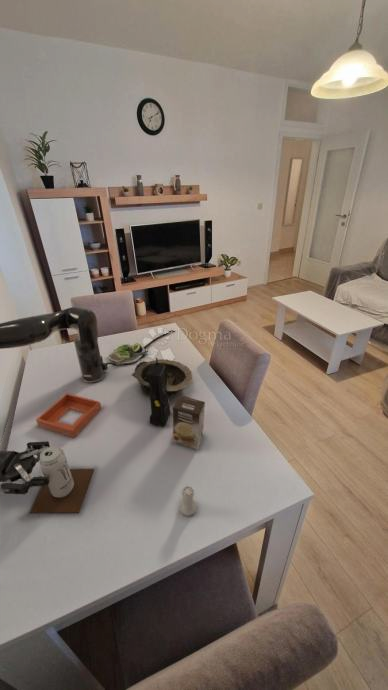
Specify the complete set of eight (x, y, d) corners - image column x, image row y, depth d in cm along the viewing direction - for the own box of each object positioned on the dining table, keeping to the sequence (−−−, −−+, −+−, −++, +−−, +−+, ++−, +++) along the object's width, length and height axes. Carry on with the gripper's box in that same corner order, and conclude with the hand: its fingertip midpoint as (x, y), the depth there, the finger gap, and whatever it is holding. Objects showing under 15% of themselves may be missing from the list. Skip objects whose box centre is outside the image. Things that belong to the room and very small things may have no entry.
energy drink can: (69, 499, 76) (56, 464, 68) (47, 499, 76) (32, 463, 68) (77, 479, 81) (66, 444, 73) (57, 479, 81) (44, 443, 74)
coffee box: (172, 443, 93) (171, 407, 86) (179, 429, 99) (178, 394, 91) (197, 450, 91) (199, 414, 83) (203, 436, 96) (205, 400, 88)
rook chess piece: (179, 500, 76) (178, 482, 72) (195, 499, 77) (195, 481, 73) (179, 517, 72) (179, 499, 68) (196, 516, 73) (197, 498, 69)
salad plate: (131, 371, 130) (130, 362, 127) (100, 363, 135) (98, 355, 133) (151, 351, 145) (150, 344, 143) (122, 345, 151) (121, 337, 149)
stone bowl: (123, 396, 113) (121, 377, 109) (153, 368, 134) (152, 351, 131) (177, 412, 105) (177, 392, 101) (200, 380, 126) (201, 362, 122)
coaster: (51, 469, 84) (50, 468, 84) (94, 469, 84) (93, 468, 84) (29, 513, 73) (29, 512, 73) (79, 513, 73) (78, 512, 73)
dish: (68, 399, 112) (66, 392, 110) (101, 408, 108) (100, 401, 106) (38, 426, 99) (35, 419, 97) (73, 438, 95) (71, 431, 93)
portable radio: (164, 429, 99) (161, 372, 86) (148, 426, 100) (143, 369, 87) (170, 414, 105) (168, 358, 93) (155, 411, 106) (151, 356, 94)
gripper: (-31, 482, 65) (39, 481, 65) (4, 435, 77) (63, 434, 78) (-19, 501, 69) (47, 500, 69) (13, 453, 81) (68, 452, 81)
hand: (55, 465), depth 73 cm, fingers open, 8 cm apart
